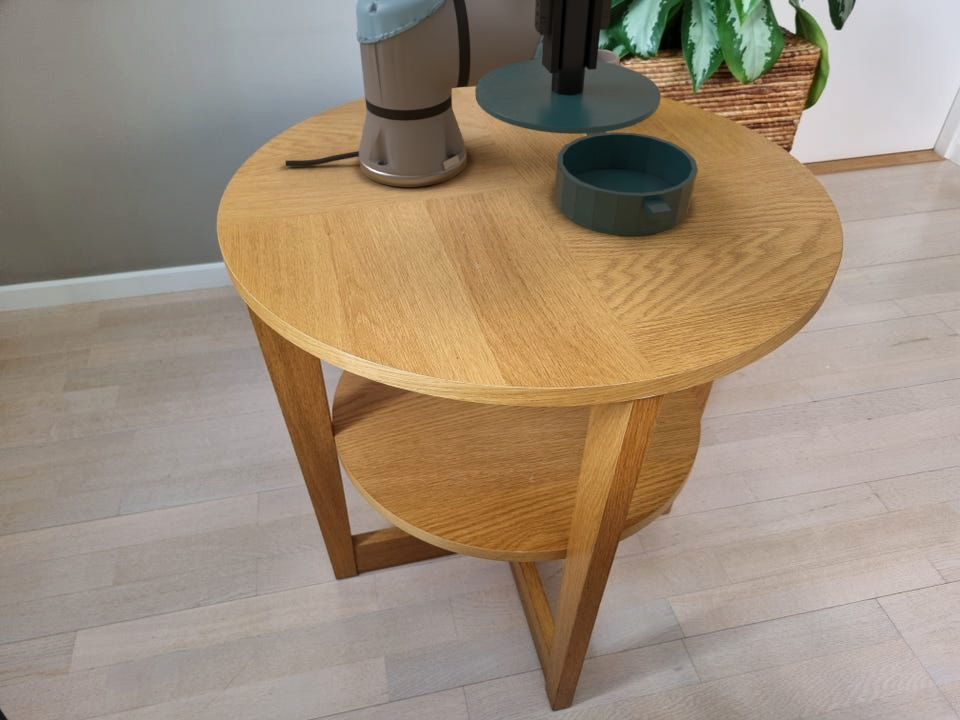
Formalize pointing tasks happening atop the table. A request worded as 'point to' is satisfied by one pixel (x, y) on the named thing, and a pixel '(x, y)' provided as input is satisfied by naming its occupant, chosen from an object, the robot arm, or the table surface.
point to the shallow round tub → (624, 183)
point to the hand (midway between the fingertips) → (568, 65)
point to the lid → (568, 87)
